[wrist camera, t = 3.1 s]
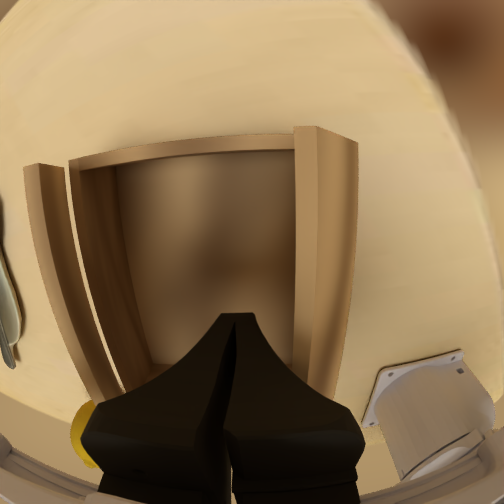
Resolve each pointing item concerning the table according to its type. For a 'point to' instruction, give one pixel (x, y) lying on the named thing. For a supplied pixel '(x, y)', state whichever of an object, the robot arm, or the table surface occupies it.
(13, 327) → the avocado toast plate
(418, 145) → the table surface
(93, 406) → the lemon
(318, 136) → the panel
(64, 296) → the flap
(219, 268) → the carton
